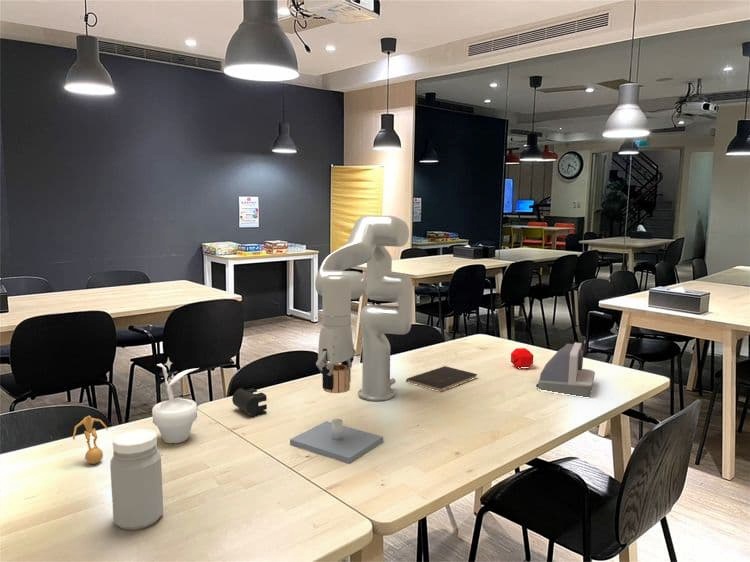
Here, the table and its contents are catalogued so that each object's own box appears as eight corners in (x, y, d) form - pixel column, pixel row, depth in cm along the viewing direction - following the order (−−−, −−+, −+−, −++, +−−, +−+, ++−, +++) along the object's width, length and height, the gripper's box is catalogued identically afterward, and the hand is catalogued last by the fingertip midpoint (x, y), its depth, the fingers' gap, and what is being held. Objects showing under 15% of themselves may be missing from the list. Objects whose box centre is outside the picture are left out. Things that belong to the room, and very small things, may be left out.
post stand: (326, 425, 166) (326, 404, 165) (383, 441, 155) (383, 419, 154) (290, 444, 153) (289, 421, 152) (349, 463, 142) (349, 439, 141)
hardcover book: (477, 380, 213) (477, 374, 213) (440, 394, 196) (440, 387, 196) (443, 371, 224) (443, 365, 224) (405, 383, 207) (405, 377, 207)
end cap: (232, 410, 178) (231, 390, 177) (252, 405, 183) (251, 385, 182) (247, 419, 171) (246, 398, 170) (267, 414, 175) (267, 393, 174)
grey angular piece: (588, 401, 189) (590, 358, 187) (528, 389, 201) (530, 349, 199) (602, 384, 207) (604, 345, 205) (546, 375, 218) (548, 337, 216)
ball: (508, 365, 231) (509, 347, 230) (527, 364, 232) (528, 346, 231) (515, 370, 223) (516, 352, 222) (534, 370, 224) (535, 351, 223)
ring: (334, 383, 156) (334, 362, 156) (354, 387, 153) (354, 366, 152) (318, 389, 151) (318, 368, 150) (339, 394, 147) (339, 372, 146)
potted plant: (154, 451, 148) (150, 359, 145) (153, 434, 158) (148, 349, 155) (204, 443, 153) (201, 354, 150) (199, 428, 163) (196, 344, 160)
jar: (102, 526, 113) (96, 441, 111) (138, 502, 122) (134, 424, 120) (139, 536, 110) (135, 449, 107) (174, 511, 119) (170, 431, 117)
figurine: (80, 471, 137) (76, 424, 135) (71, 463, 141) (67, 417, 139) (114, 460, 143) (112, 415, 141) (105, 453, 147) (102, 409, 145)
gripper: (344, 314, 158) (344, 375, 161) (304, 324, 144) (305, 391, 146) (366, 317, 154) (366, 379, 157) (327, 328, 140) (327, 396, 142)
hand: (336, 384), depth 151 cm, fingers closed on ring, 7 cm apart
